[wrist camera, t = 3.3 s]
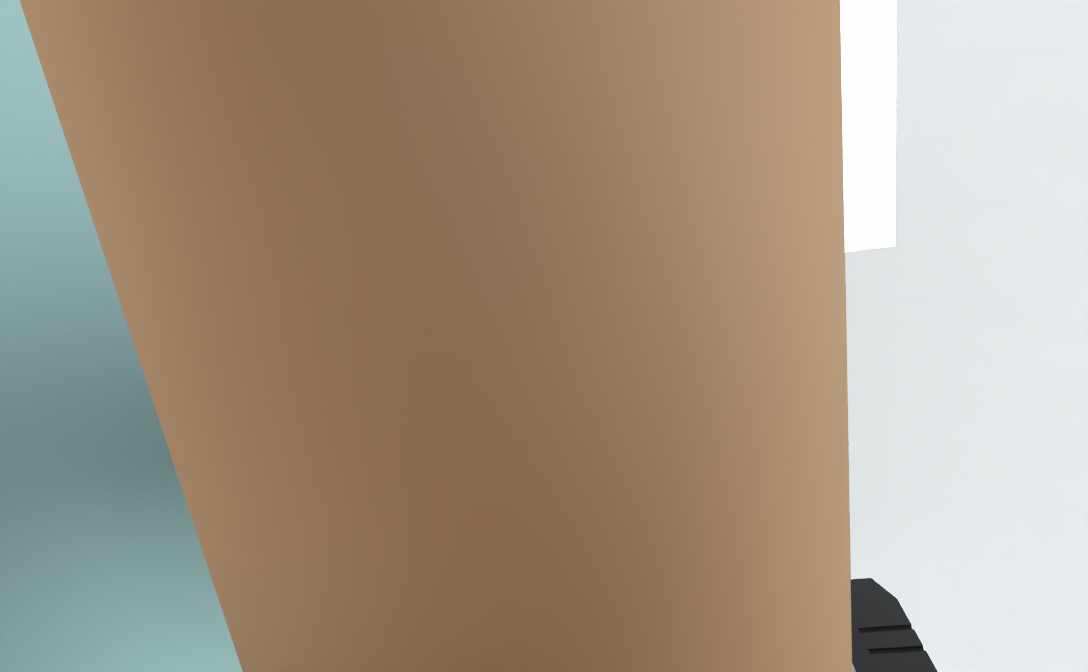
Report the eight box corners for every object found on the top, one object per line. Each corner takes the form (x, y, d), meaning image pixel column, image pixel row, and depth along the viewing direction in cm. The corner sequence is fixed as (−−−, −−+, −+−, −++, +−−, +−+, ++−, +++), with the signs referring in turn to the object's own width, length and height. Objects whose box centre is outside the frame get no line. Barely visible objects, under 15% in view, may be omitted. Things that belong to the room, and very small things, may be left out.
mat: (51, 754, 26) (39, 769, 26) (-291, -4, 19) (-318, -6, 18) (332, 738, 25) (326, 753, 25) (92, -74, 18) (75, -78, 17)
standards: (492, 704, 24) (426, 1105, 15) (353, 28, 18) (87, -7, 9) (784, 686, 24) (909, 1103, 14) (746, -35, 17) (928, -152, 8)
